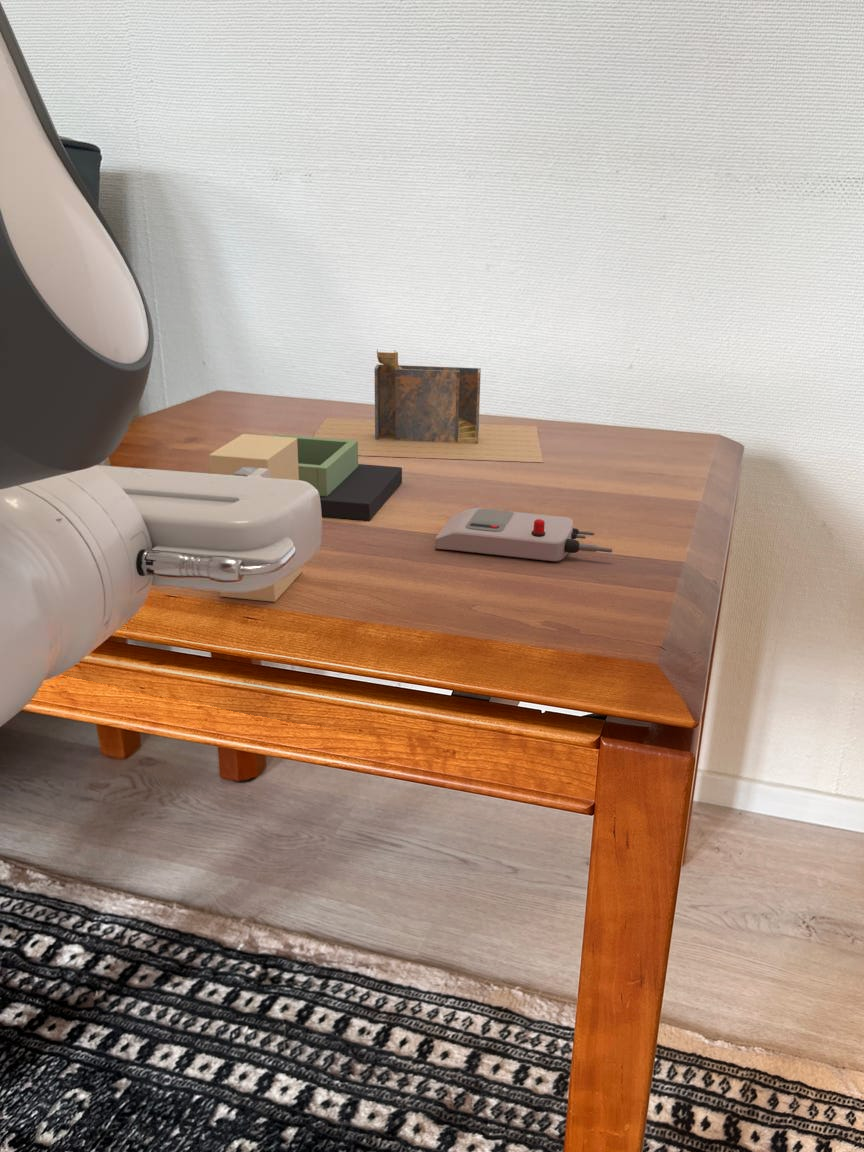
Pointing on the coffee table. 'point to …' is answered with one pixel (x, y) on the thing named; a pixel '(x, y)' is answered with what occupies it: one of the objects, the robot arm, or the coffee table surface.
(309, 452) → the base pad
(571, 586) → the coffee table surface
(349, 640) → the coffee table surface
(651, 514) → the coffee table surface
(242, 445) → the tall beige rectangular block
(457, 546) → the grey electronic control box
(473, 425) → the architectural model on board
